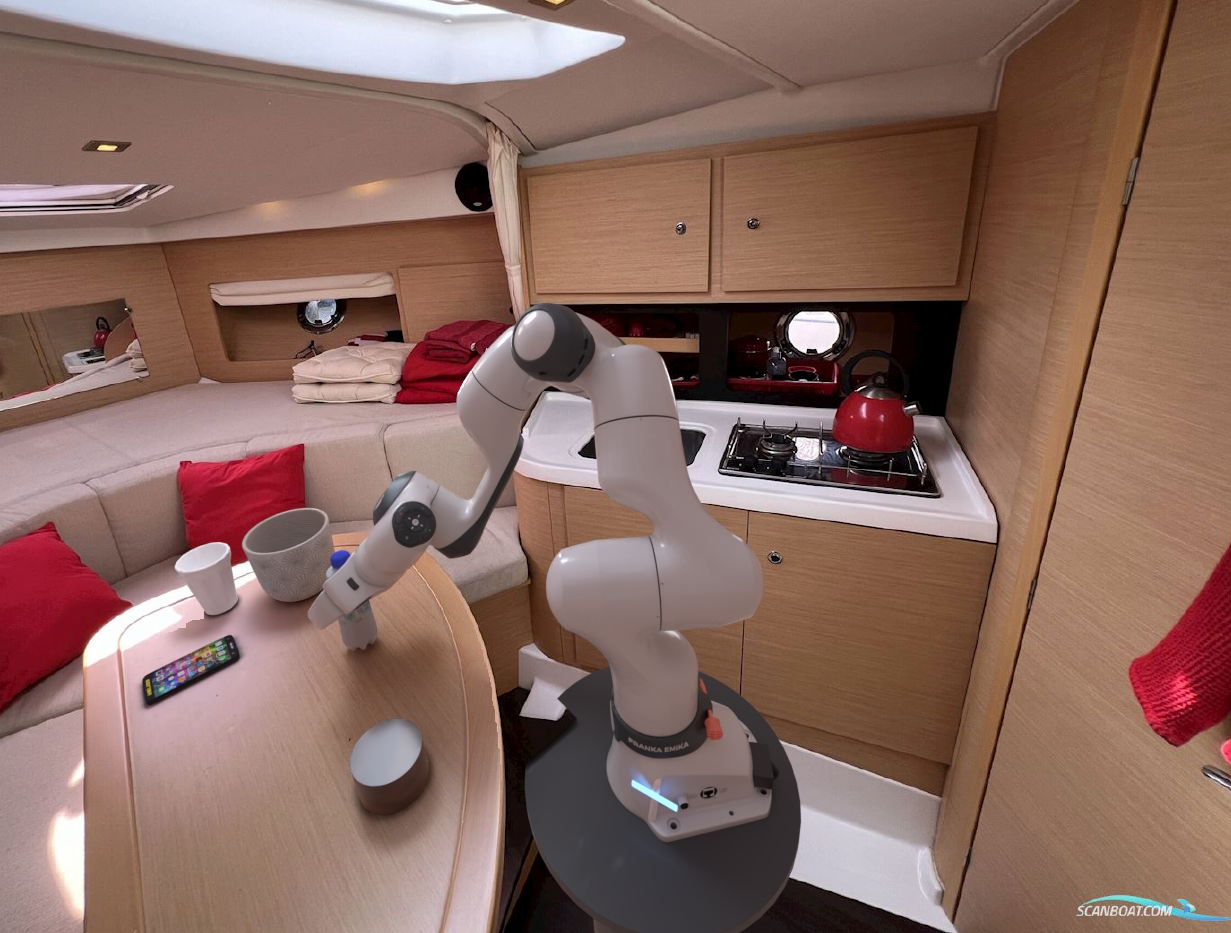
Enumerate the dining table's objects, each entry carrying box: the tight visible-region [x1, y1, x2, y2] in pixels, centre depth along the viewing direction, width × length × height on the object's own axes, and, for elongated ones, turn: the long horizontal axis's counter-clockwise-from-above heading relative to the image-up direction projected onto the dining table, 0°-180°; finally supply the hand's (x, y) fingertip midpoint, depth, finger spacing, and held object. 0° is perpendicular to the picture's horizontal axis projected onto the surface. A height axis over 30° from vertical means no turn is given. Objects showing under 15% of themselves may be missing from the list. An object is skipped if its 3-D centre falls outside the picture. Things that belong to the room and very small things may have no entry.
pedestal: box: [349, 717, 430, 816], centre depth 77 cm, size 10×10×6 cm
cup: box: [174, 541, 239, 616], centre depth 114 cm, size 10×10×13 cm
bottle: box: [326, 549, 379, 652], centre depth 99 cm, size 7×7×20 cm
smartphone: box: [141, 634, 241, 705], centre depth 100 cm, size 8×1×15 cm
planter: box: [241, 507, 336, 603], centre depth 117 cm, size 17×17×15 cm
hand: (348, 595), depth 99 cm, fingers closed on bottle, 6 cm apart
